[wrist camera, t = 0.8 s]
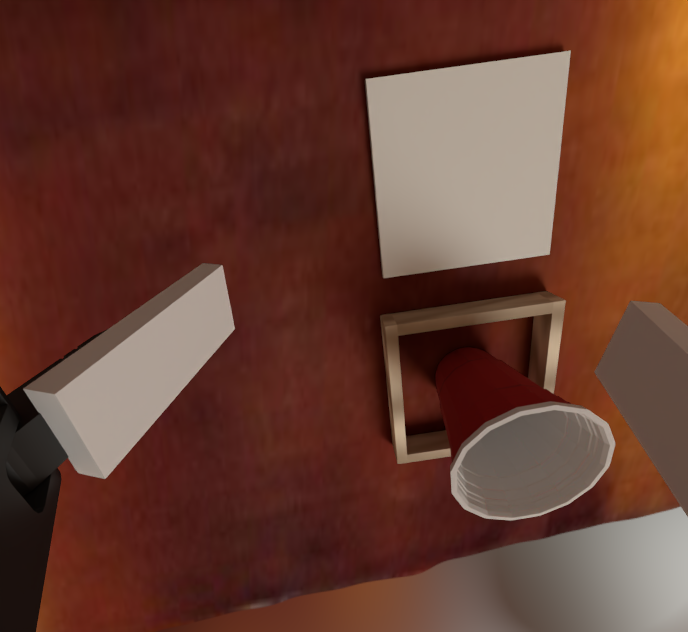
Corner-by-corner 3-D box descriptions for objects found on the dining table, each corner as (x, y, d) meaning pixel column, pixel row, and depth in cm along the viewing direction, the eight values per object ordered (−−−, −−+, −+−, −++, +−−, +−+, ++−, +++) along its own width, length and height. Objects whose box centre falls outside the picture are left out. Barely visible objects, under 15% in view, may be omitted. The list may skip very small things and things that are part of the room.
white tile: (364, 81, 23) (365, 78, 23) (564, 53, 24) (570, 50, 23) (382, 276, 29) (383, 278, 28) (545, 252, 29) (549, 254, 28)
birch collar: (380, 315, 30) (384, 326, 28) (546, 290, 30) (565, 300, 28) (392, 445, 36) (397, 464, 34) (532, 424, 36) (547, 441, 34)
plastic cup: (403, 421, 35) (442, 535, 24) (413, 324, 31) (465, 407, 20) (506, 418, 35) (590, 528, 24) (529, 323, 31) (643, 402, 20)
